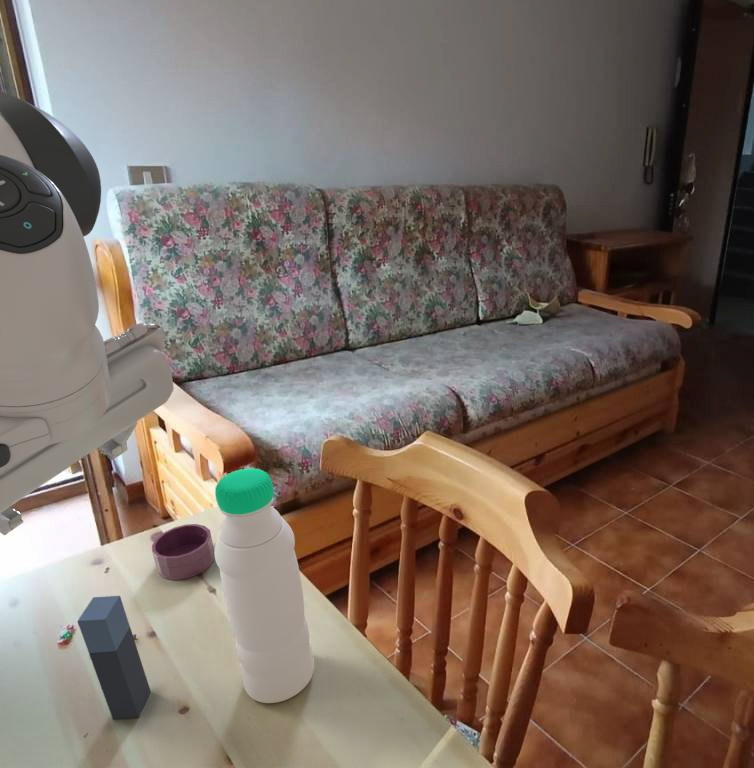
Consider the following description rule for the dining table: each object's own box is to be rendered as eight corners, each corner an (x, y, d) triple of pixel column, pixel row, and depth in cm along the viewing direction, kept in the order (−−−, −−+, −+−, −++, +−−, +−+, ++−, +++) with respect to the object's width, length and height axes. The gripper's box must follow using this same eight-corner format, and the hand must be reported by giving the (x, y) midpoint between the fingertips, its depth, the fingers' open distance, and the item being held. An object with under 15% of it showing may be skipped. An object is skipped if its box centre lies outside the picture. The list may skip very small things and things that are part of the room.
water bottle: (275, 719, 62) (233, 512, 52) (230, 685, 65) (181, 485, 55) (329, 669, 68) (301, 472, 57) (284, 640, 71) (250, 450, 60)
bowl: (149, 581, 79) (142, 559, 77) (169, 546, 85) (164, 525, 83) (205, 578, 80) (200, 556, 78) (222, 543, 86) (217, 522, 84)
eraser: (112, 719, 62) (76, 621, 56) (126, 693, 64) (93, 596, 59) (138, 717, 62) (105, 619, 56) (150, 691, 65) (120, 595, 59)
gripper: (130, 293, 52) (140, 397, 61) (-175, 444, 37) (-99, 550, 46) (190, 335, 51) (191, 433, 61) (-96, 505, 36) (-35, 600, 46)
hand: (63, 485), depth 53 cm, fingers open, 8 cm apart
